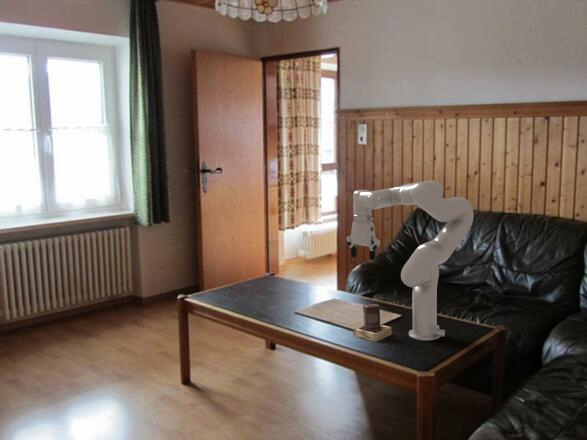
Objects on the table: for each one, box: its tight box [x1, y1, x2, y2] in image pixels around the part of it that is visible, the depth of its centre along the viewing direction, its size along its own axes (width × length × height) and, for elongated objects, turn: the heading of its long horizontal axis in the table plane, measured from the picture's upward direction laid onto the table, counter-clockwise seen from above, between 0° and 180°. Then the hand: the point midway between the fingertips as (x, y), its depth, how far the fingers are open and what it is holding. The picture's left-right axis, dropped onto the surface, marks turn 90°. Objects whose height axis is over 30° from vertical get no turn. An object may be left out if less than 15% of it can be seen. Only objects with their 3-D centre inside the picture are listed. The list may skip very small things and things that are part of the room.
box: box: [362, 303, 381, 333], centre depth 247 cm, size 6×4×12 cm
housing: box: [353, 324, 393, 343], centre depth 248 cm, size 11×11×3 cm
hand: (363, 258), depth 261 cm, fingers open, 9 cm apart
